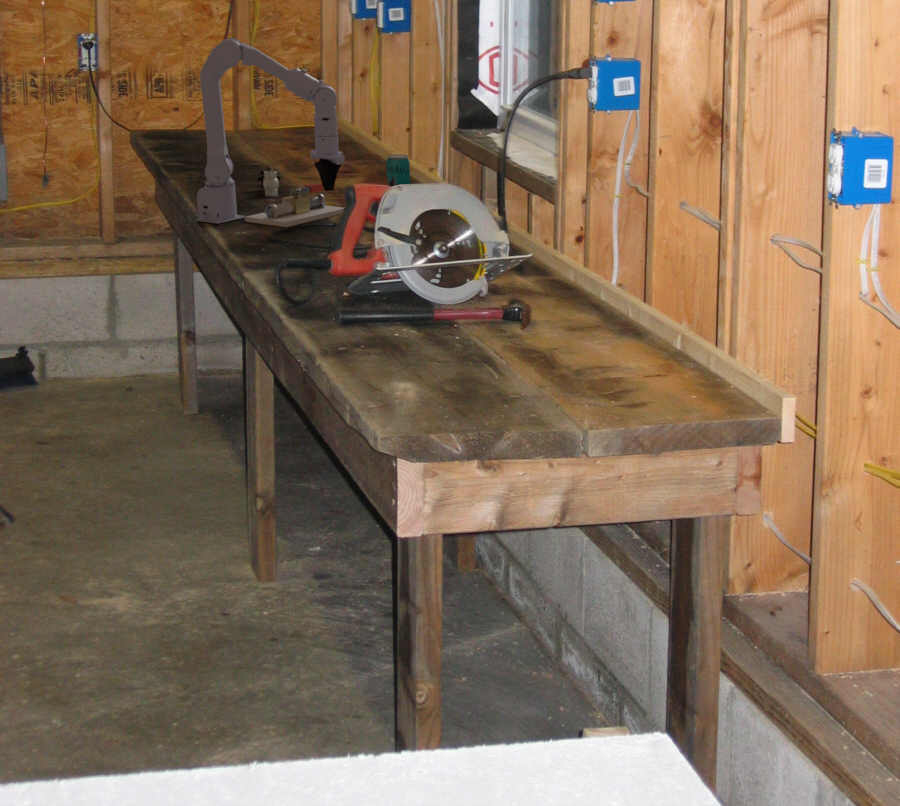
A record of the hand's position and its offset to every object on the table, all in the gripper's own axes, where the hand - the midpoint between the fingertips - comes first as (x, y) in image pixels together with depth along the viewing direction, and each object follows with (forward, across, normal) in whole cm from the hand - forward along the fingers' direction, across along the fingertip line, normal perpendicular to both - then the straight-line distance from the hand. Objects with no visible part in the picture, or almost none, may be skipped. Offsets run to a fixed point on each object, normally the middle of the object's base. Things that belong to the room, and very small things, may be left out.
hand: (328, 190), depth 354 cm
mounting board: (+6, +4, +7) cm, 11 cm away
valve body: (+6, +4, +7) cm, 11 cm away
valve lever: (+1, +5, +4) cm, 6 cm away
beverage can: (+7, -12, -13) cm, 19 cm away
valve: (+7, +41, -4) cm, 42 cm away
